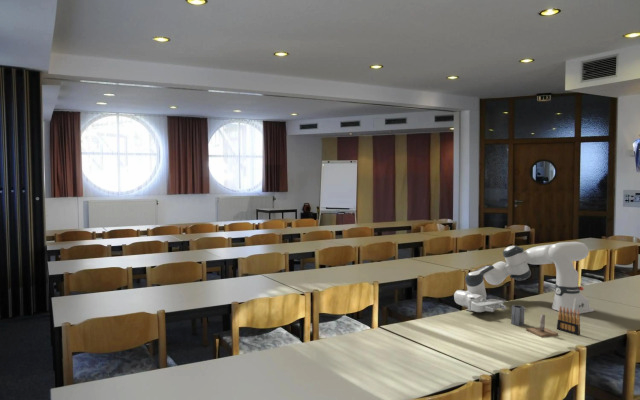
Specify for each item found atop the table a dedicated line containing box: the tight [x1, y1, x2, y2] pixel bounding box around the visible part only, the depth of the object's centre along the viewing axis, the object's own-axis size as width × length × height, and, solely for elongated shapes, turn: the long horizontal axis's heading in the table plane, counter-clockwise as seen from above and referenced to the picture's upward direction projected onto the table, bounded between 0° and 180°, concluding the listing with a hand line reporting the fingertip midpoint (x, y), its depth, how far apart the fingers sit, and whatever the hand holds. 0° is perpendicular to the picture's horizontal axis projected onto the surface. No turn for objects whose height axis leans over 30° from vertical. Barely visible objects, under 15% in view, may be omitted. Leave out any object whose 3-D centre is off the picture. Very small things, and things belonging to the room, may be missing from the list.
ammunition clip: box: [556, 306, 581, 336], centre depth 244 cm, size 11×2×12 cm, turn 36°
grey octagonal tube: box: [510, 304, 526, 327], centre depth 256 cm, size 6×6×9 cm
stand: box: [525, 313, 559, 338], centre depth 242 cm, size 10×10×9 cm
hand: (499, 309), depth 265 cm, fingers open, 8 cm apart
